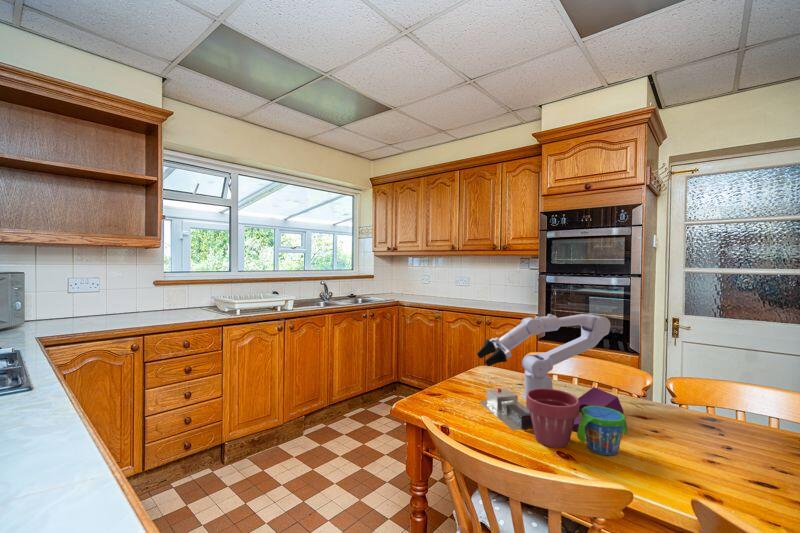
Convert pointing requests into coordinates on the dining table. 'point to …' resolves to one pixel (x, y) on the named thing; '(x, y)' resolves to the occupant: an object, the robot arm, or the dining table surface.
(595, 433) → the snack cup
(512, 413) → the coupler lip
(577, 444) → the dining table surface
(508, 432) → the dining table surface
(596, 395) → the mounting bracket
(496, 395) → the block
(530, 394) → the plant pot
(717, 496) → the dining table surface
